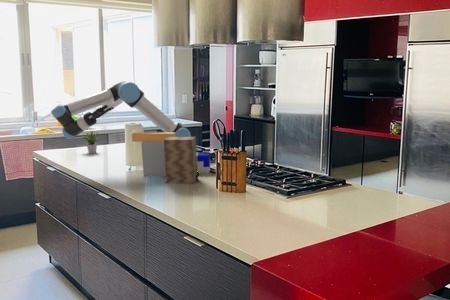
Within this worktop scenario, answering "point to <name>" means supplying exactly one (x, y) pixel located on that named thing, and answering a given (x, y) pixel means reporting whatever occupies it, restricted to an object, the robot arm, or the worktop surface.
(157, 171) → the plinth
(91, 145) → the house plant
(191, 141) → the walnut stand
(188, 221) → the worktop surface
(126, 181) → the worktop surface
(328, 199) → the worktop surface
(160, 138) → the orange bar
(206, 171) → the puzzle toy
